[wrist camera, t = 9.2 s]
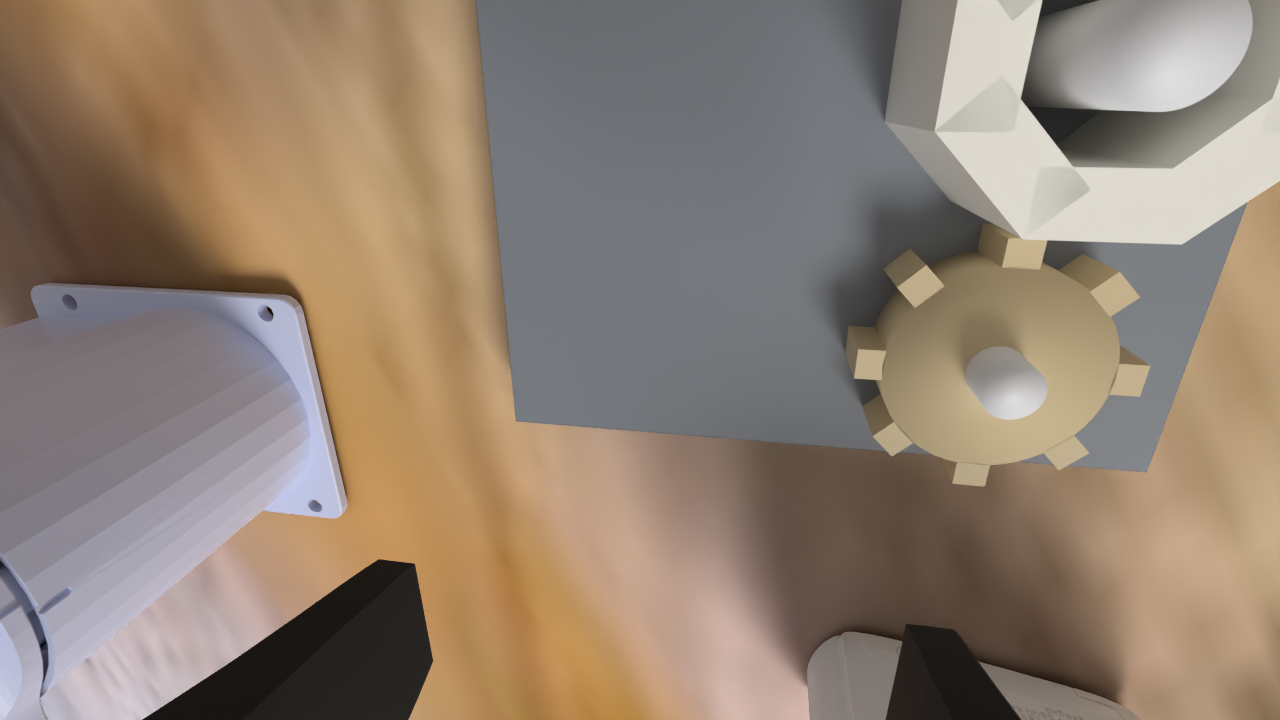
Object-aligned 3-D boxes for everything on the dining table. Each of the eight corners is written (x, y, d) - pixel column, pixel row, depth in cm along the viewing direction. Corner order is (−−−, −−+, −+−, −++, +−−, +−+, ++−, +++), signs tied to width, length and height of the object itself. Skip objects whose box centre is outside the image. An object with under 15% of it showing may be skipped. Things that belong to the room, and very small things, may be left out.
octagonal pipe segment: (873, 198, 14) (916, 236, 10) (916, -99, 11) (990, -189, 8) (1146, 205, 13) (1302, 248, 9) (1247, -115, 11) (1501, -223, 7)
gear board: (533, 398, 19) (442, 520, 13) (464, -449, 12) (214, -918, 6) (1114, 441, 16) (1293, 613, 11) (1470, -604, 9) (2494, -1605, 4)
